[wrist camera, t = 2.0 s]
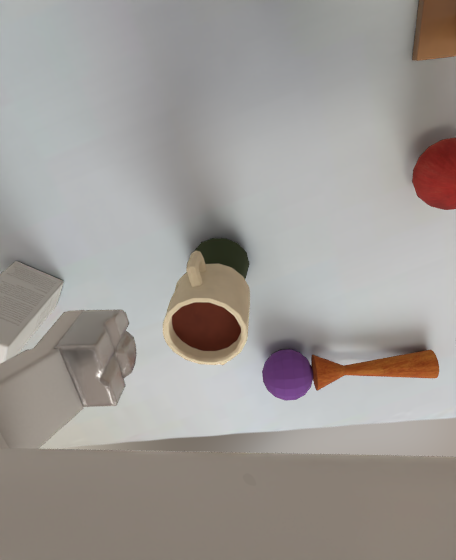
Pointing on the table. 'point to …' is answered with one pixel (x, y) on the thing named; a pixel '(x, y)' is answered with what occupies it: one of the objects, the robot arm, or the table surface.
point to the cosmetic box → (24, 305)
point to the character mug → (210, 305)
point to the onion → (437, 175)
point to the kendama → (338, 371)
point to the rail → (435, 30)
